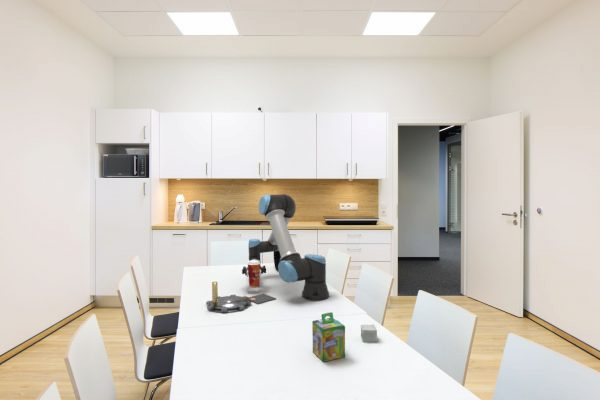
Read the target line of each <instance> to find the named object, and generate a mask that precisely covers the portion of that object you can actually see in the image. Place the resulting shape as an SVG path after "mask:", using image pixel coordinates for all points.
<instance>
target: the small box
mask: <svg viewBox="0 0 600 400" xmlns="http://www.w3.org/2000/svg"><path fill="white" fill-rule="evenodd" d="M360 337H361V341H362V342H363V343H377V342H378V331H377V328H376V326H375V324H361V325H360Z"/></svg>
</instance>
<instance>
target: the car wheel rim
mask: <svg viewBox="0 0 600 400" xmlns="http://www.w3.org/2000/svg"><path fill="white" fill-rule="evenodd" d="M280 259H281V255H280V252H279V251H275V252H273V262H274V263H273V264H274V267H275V270H276V271H277V272H278V265H279V263H280Z"/></svg>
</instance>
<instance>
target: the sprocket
mask: <svg viewBox="0 0 600 400" xmlns="http://www.w3.org/2000/svg"><path fill="white" fill-rule="evenodd" d="M218 288H219V287H218V281H212V282H211V297H212V299H211V300H207V301H206V302H205V305H206V306H207V305H210V306H208V309H210V310H213V309H217V310H221V312H227V311H228V310H233V309H239V310H241V309H244V306H246V305H247V304H250V305H252V303H253V302H252V300H248V299H249V297H250V296H247V295H242V296H240V295H236V294H230V295H226V296H225V295H224V296H219V295H218ZM208 309H207V310H208Z"/></svg>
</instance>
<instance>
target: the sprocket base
mask: <svg viewBox="0 0 600 400" xmlns="http://www.w3.org/2000/svg"><path fill="white" fill-rule="evenodd" d="M208 306H210V305H206V308H207V310H208V311H210V312H212V313H219V314H231V313H232V314H233V313H238V312H241V311H244V310H247V309H248V308H249V307H250V306H251V304H247V305H246V306H244V309H241V310H239V309H233V310H228V311H227V312H221V310H217V309H213V310H210V309H208Z"/></svg>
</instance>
